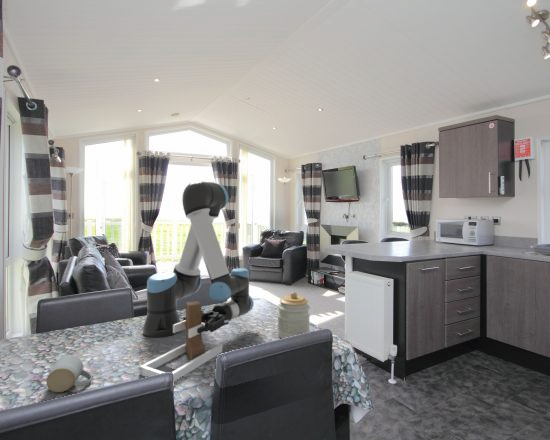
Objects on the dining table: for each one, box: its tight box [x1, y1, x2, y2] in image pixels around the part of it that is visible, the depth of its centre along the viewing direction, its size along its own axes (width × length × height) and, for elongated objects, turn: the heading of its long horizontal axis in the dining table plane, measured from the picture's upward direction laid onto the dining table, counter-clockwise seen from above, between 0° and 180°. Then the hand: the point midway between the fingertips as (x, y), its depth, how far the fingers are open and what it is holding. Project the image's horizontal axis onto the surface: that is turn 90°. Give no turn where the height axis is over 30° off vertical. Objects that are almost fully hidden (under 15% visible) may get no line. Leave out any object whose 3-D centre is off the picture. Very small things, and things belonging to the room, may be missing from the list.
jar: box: [277, 291, 311, 339], centre depth 132 cm, size 13×13×18 cm
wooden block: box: [185, 300, 206, 361], centre depth 113 cm, size 9×4×18 cm, turn 28°
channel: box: [139, 342, 223, 383], centre depth 109 cm, size 12×25×2 cm, turn 151°
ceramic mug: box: [46, 354, 93, 393], centre depth 94 cm, size 11×8×8 cm
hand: (181, 331), depth 109 cm, fingers open, 6 cm apart
